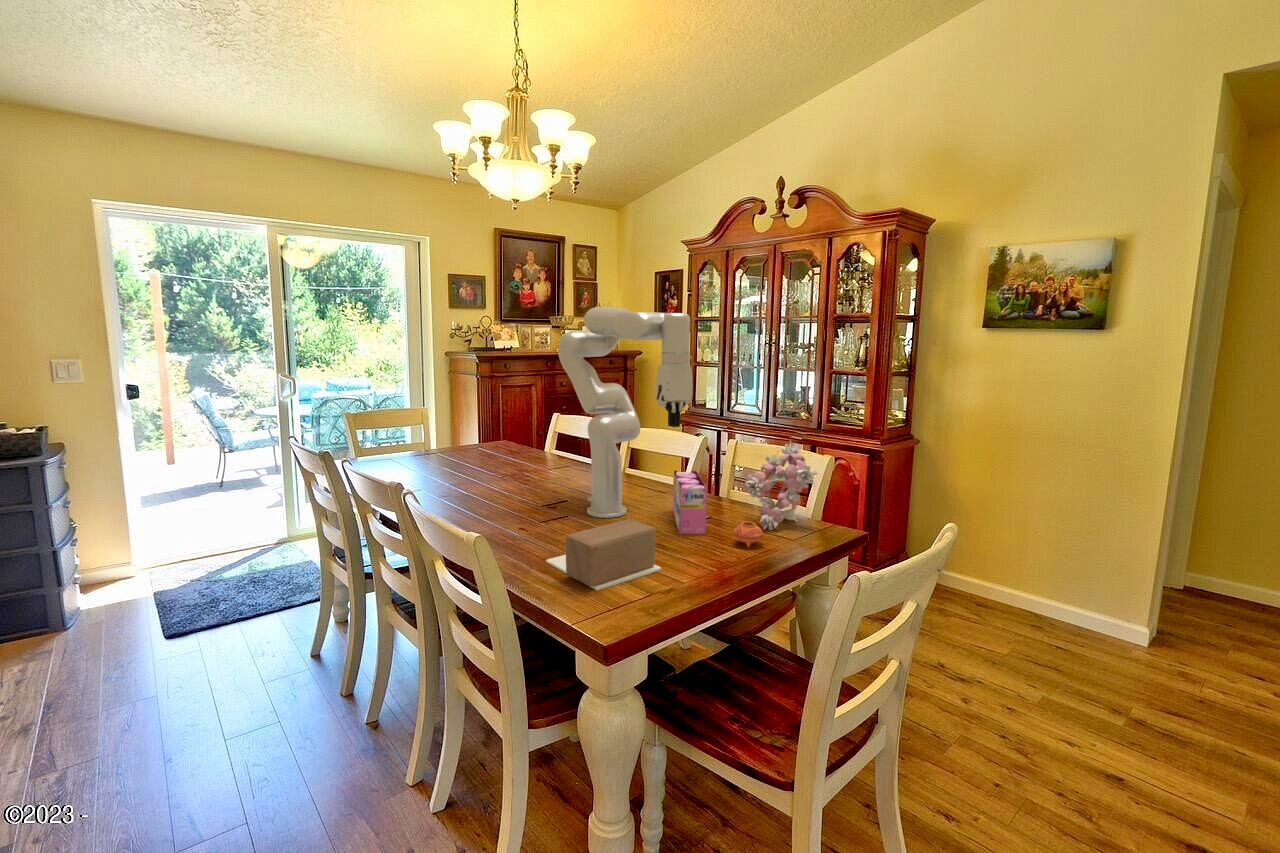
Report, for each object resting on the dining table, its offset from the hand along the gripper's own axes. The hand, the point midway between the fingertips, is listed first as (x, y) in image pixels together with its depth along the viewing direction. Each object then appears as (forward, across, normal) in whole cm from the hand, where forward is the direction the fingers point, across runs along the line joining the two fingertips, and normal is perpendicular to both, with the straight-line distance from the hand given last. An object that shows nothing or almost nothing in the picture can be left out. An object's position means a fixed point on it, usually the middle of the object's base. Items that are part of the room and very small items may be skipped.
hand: (673, 426), depth 168 cm
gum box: (+32, -12, -6) cm, 34 cm away
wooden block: (+25, +19, +12) cm, 34 cm away
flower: (+31, -31, +12) cm, 45 cm away
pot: (+31, -11, +18) cm, 38 cm away
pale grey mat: (+31, +29, +8) cm, 43 cm away
